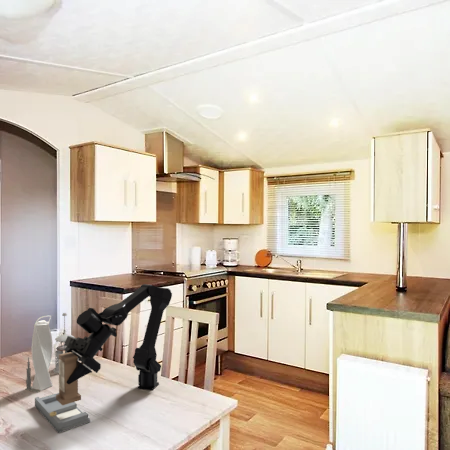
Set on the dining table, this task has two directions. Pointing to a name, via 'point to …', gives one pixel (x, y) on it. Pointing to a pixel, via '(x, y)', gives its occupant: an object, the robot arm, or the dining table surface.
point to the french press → (60, 347)
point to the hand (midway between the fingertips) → (64, 380)
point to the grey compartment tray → (60, 413)
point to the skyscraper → (40, 356)
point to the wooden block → (66, 368)
